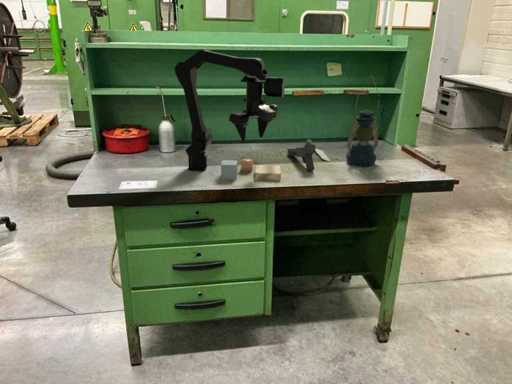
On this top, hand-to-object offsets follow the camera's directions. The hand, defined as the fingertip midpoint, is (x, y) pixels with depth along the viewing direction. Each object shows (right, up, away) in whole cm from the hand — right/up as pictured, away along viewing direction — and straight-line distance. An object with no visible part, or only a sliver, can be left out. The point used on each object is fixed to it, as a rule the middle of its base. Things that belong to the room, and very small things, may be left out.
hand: (252, 139), depth 153 cm
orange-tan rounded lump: (-2, -11, +7) cm, 13 cm away
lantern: (+44, -7, +19) cm, 49 cm away
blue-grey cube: (-8, -14, 0) cm, 16 cm away
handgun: (+19, -8, +18) cm, 27 cm away
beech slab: (+6, -13, +2) cm, 15 cm away
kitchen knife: (+29, -2, +34) cm, 44 cm away
